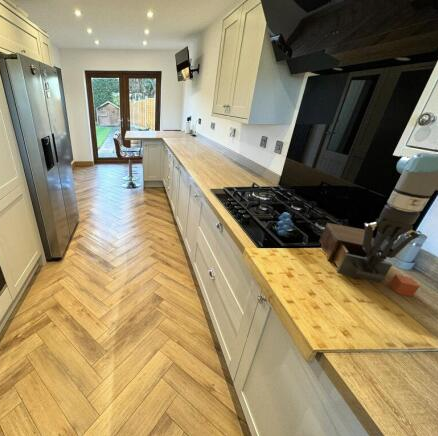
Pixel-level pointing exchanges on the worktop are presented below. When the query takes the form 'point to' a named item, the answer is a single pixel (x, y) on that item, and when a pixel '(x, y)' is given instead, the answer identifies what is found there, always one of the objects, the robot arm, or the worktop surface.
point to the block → (403, 285)
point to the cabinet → (340, 238)
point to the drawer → (358, 263)
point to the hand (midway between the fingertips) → (366, 271)
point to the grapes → (284, 224)
